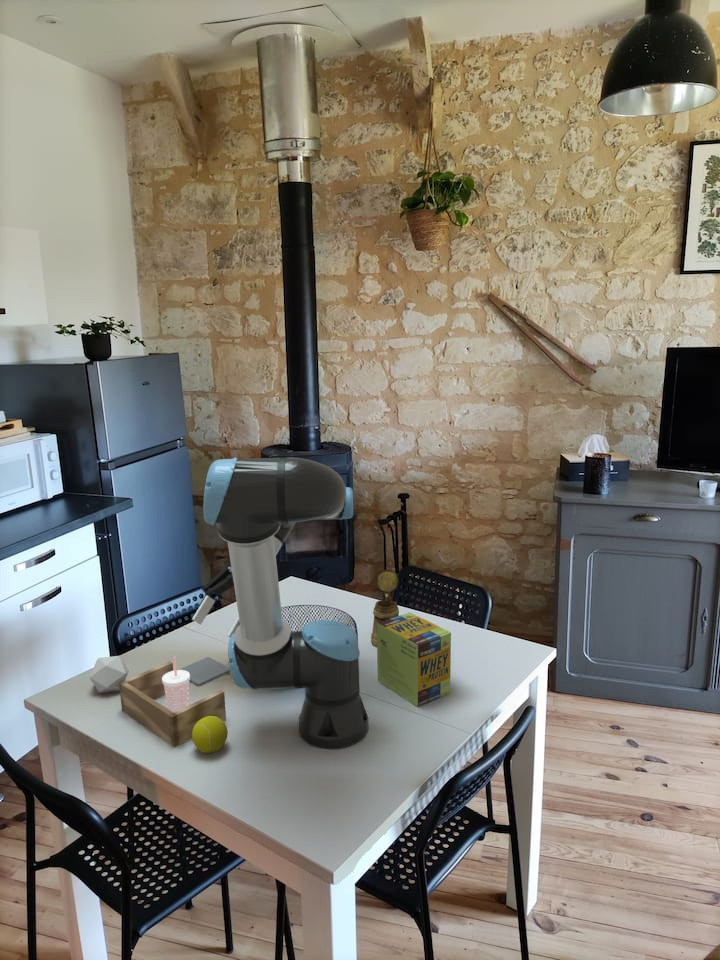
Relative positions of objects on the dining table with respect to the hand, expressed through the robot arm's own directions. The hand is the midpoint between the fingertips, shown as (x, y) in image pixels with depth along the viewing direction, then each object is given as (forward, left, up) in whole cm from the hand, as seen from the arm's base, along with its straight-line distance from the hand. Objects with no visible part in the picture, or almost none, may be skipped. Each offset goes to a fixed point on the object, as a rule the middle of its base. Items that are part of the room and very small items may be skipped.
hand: (213, 630), depth 161 cm
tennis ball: (-19, +11, -17) cm, 28 cm away
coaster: (+12, -2, -16) cm, 20 cm away
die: (+19, +19, -17) cm, 31 cm away
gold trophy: (-3, -50, -17) cm, 53 cm away
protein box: (-27, -38, -17) cm, 50 cm away
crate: (-2, +12, -16) cm, 20 cm away
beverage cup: (-2, +11, -16) cm, 20 cm away
